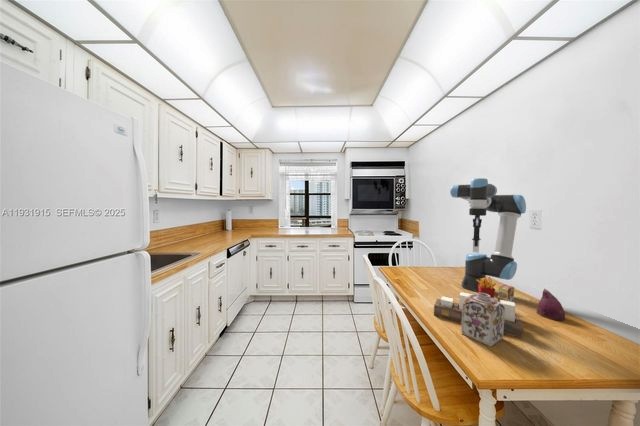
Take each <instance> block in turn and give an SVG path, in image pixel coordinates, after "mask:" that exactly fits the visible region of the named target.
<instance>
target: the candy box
mask: <svg viewBox="0 0 640 426" xmlns="http://www.w3.org/2000/svg"><path fill="white" fill-rule="evenodd" d="M497 288H498V290H497V299H496V300H498V301H499V302H500V300H504V301H509V302H514V301H515V299H514V298H515V286H514V285H511V284H510V285H509V284H503V285H501V286H499V287H497Z"/></svg>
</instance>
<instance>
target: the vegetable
mask: <svg viewBox="0 0 640 426" xmlns="http://www.w3.org/2000/svg"><path fill="white" fill-rule="evenodd" d="M536 307H537V308H536V314H537V315H539V316H541V317H542V318H546V319H549V320H553V321H560V322H561V321H565V320H566V314H565V311H564V308H563V305H562V304H561V302H560V301H559V299H558V298H557V297H556V296H555V295H554V294H552V293H551V292H550V291H549V290H548V289H546V288H544V289H543V290H542V296H541V298H540V299H539V302H538V304H537V306H536Z"/></svg>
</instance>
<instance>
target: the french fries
mask: <svg viewBox="0 0 640 426" xmlns="http://www.w3.org/2000/svg"><path fill="white" fill-rule="evenodd" d="M487 277H488V279H487ZM487 277H485V278H484V279H483V278H482V279H481V278H480V280H481V281H479V280H478V279H477V280H476V281H478V282H479V283H480V284H478V288H479V292H478V293H485V294H488V295H490V297H491V298H494V299H495V292H496V288H494V287H495V286H496V285H497V283H495V282H493V280H492V278H491V276H487ZM484 281H485V284H484Z"/></svg>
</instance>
